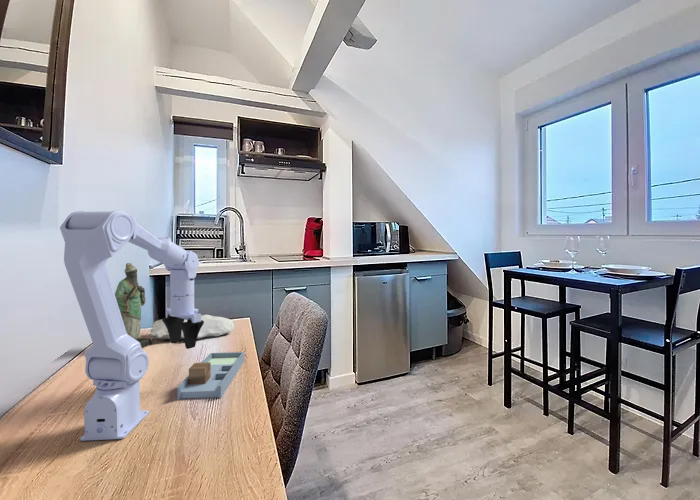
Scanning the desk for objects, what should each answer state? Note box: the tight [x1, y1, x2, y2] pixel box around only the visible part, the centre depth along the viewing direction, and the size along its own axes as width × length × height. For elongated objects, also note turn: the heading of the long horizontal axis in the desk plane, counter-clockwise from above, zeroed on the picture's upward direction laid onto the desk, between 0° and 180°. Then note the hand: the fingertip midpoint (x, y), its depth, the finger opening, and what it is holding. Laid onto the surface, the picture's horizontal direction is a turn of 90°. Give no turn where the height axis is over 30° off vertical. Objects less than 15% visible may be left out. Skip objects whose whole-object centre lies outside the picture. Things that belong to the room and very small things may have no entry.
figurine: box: [114, 262, 153, 349], centre depth 112 cm, size 10×10×30 cm
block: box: [188, 362, 211, 384], centre depth 83 cm, size 4×4×4 cm
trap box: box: [176, 351, 245, 401], centre depth 88 cm, size 23×10×3 cm, turn 5°
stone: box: [150, 313, 235, 340], centre depth 128 cm, size 21×8×30 cm
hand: (183, 345), depth 86 cm, fingers open, 7 cm apart
